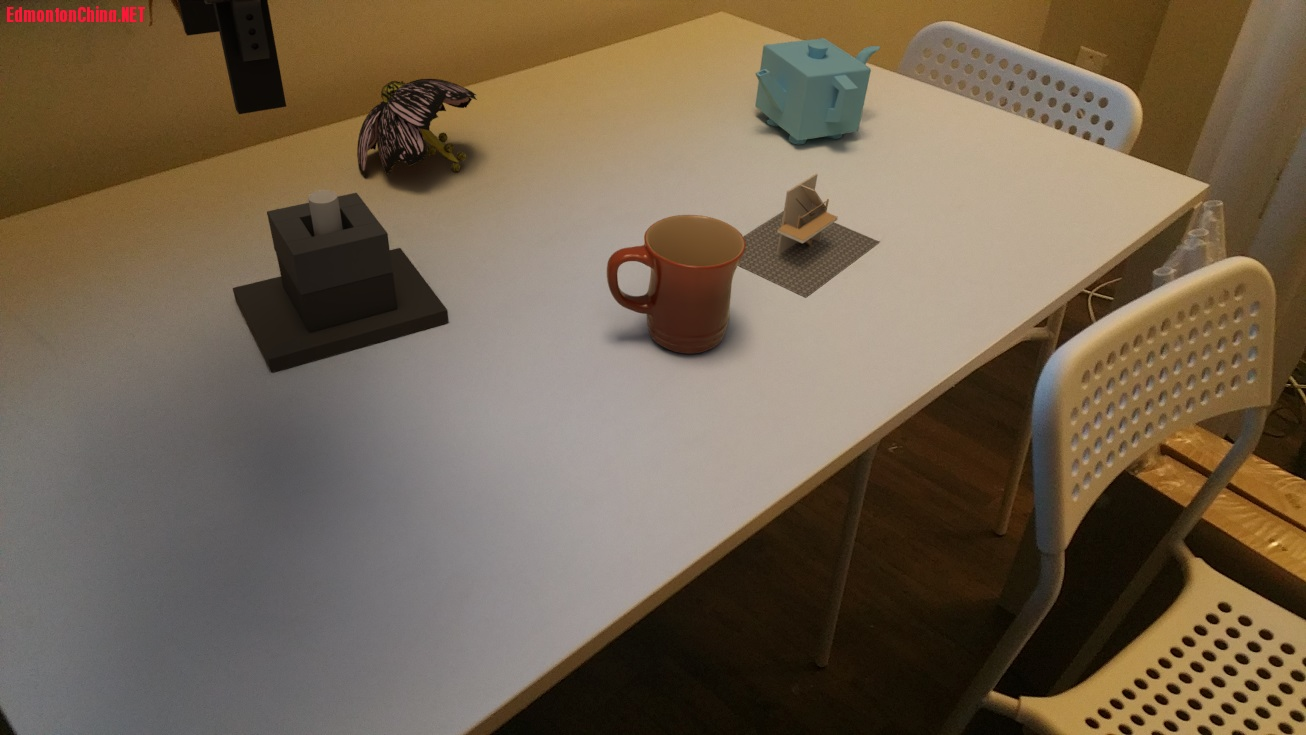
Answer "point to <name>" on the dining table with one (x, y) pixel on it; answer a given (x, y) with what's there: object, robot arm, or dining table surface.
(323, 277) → the grey square-holed block
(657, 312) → the mug
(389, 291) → the dark block with hole
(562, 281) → the dining table surface
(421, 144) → the decorative flower
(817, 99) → the teapot
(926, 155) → the dining table surface
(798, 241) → the architectural model
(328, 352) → the base pad
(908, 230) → the dining table surface
